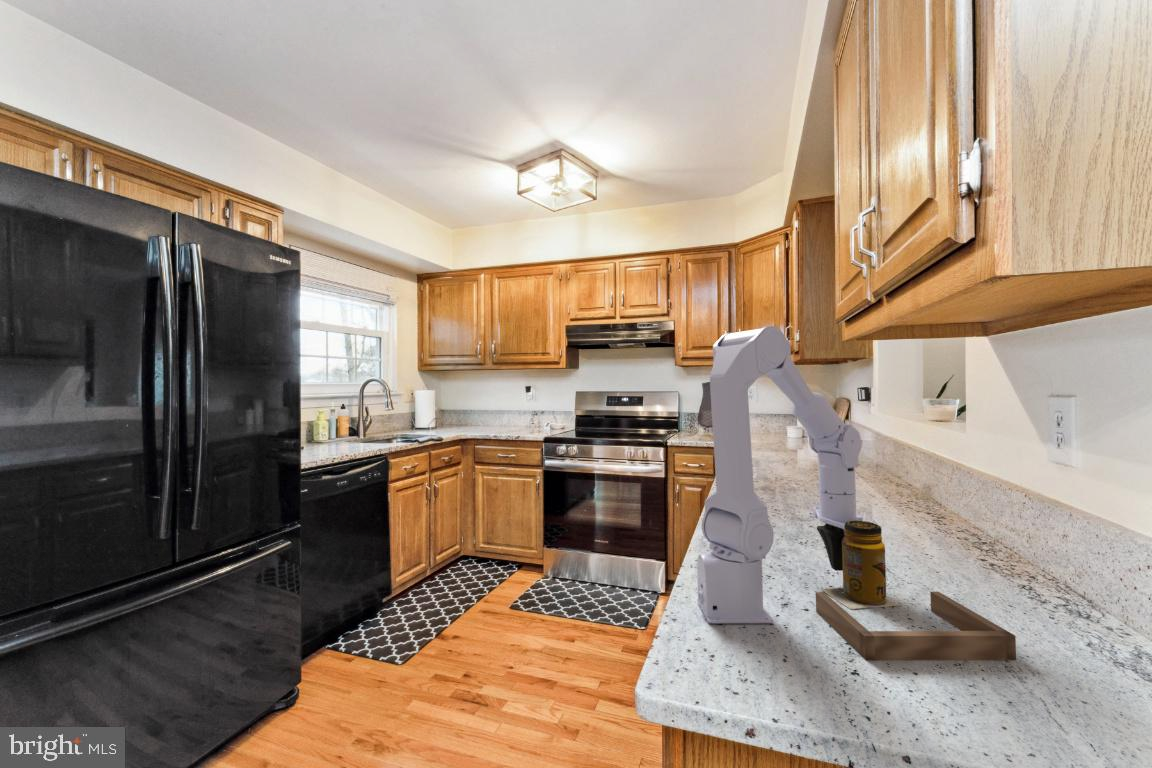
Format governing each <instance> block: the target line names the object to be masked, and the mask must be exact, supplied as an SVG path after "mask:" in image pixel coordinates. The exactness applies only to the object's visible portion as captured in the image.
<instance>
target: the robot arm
mask: <svg viewBox="0 0 1152 768" xmlns="http://www.w3.org/2000/svg"><path fill="white" fill-rule="evenodd" d="M791 351H792V346H791V342H790V341H789V340H787V338H786V335H785V334H784V332H783V331H782V329H780V327H777V326H774V325H768V326H764V327H762V328H761V327H760V328H754V329H749V330H743V331H737V332H727V333H725V334H722V336H721V337H720V338H719V339H717V341H716V342H715V343H714V344H713V345H712V356H713V357H712V358H713V364H712V368H711V372H710V376H709V390H710V404H711V420H712V421H711V422H712V436H713V437H712V438H713V454H714V469H715V472H714V473H715V486H716V487H715V488H716V490H715V492H713V493H712V494H711V495H709V496H708V497H707V498H706V499H705V500H704V513H703V517H702V520H701V532H702V535H703V537H704V539H706V541H707V542H709V550H711V552H706V553H701V554H699V555H698V556H697V565H696V568H697V599H696V601H697V603H698V605H699V606H700V607H699V608H700V609H701V611H702V613H703V615H704V617H705V619H706V621H707V623H709V624H773V623H774V618H773V617H772V616H771V615H770V614H769V612H768V611H767V610H766V608H764V591H763V590H764V588H763V586H764V585H763V560H764V559H766V557H767V555H768V554H769V552H770V551H771V549H772V547H773V544H774V538H775V537H774V529H773V526H772V523H771V521H770V519H769V515H768V514H769V513H768V507H767V505H766V504H765V503H764V502H763V500H762V499H761V498H760V497H759V496H758V494H757V493H756V492H755V487H754V471H753V453H752V441H751V440H752V439H751V423H750V422H751V421H750V419H751V418H750V406H749V405H750V404H749V389H750V387H751V386H752V385H753V384H754V383H755V382H756V381H757V380H758V379H759V378H762V377H763V376H767V377H768V378H769V379H770V380H771V381H772V382H773V383H774V384H775V386H777V387H778V389H779V390H780V391H781V392H782V393H783V394H784V395H785V397H787V398H788V400H790V402H792V404H793V405H792V411H791V412H792V414H793V416H794V417H795V418H796V420H797V421H798V422H799V424H800V425H801V426H802V427H803V428H804V429H805V431H806V435H807V436H808V443H809V448H810V450H812V451H813V452H814V453H815V454H817V469H818V470H817V472H818V478H817V479H818V506H813V507H812V516H813V518H815V519H818V521H819V522H822V523H824V524H823V525H818V526H816V530H817V532H818V533H819V535H820V537H821V540H822V541H823V544H824V547H825V550H826V553H827V556H828V560H829V564H830V568H831V569H833V570H834V571H837V572H838V571H842V572H843V561H842V539H843V538H844V536H845V535H844V530H845V527H844V525H845V523H846V522H847V521H864V518H863V517H862V516H860V515H858V514H857V498H856V497H857V496H856V495H857V494H856V467H858V464H859V455H860V453H861V450H862V448H863V439H862V438H861V437H862V436H861V434H860V432H859V430H858V429H857V428H855V427H854V426H853V425H851V424H848V423H845V422H844V420H843V419H842V418H841V416H839V414H838V413H837V411H836V410H835V409H834V407H833V406H832V405H831V403H830V402H829V401H828V398H827V396H826V395H825V394H822V393H820V392H812V390H811V388H810V387H809V385H808V384H807V382H806V380H805V379H804V377H803V375H802V373H801V372H800V371H799V369H798V368H797V366H796V365H795V363H794V361H793V359H792V358H791V353H792V352H791Z"/></svg>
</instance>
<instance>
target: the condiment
mask: <svg viewBox="0 0 1152 768" xmlns="http://www.w3.org/2000/svg"><path fill="white" fill-rule="evenodd" d="M844 527H845V530H844V535H845V536H844V538H843V539H842V561H843V571H842V586H843V587H833V588H821V591H822V592H824V593H825V594H826V595H827V596H829V597H830V598H831V599H832V598H833V600H836V601H837V602H838V603H840V604H842V605H843V606H845V607H847V608H849V609H850V610H855V609H866V608H867V609H868V608H886V607H895V606H896V607H897V606H900V605H901V604H900V603H898V602H896V601H895V600H892V599H890V598H888V597H887V582H886V581H887V576H886V575H887V574H886V546H885V543H884V542H883V536H882V532H883V531H882V527H881V526H880V525H879V524H877V523H874V522H869V521H866V520H863V521H847V522H846V523H845V525H844Z"/></svg>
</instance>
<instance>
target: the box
mask: <svg viewBox="0 0 1152 768" xmlns="http://www.w3.org/2000/svg"><path fill="white" fill-rule="evenodd" d="M929 592H930V593H929V594H930V611H931V612H930V613H933V614H934V615H936V616H938V617H939V618H940V619H941V620H944V621H945V622H947V623H949V624H950V625H951V626H953V627H954V628H956V629H958V630H868V629H867V628H866V627H865V626H864V625H863V624H861V623H860V622H859V621H857V620H856V619H855V618H854V617H853V616H852V615H850V613H849V612H847V611H846V610H845V609H844V608H842V607H841V606H840V605H839V604H838V603H837V602H835V600H834V599H832V597H831V596H830V595H828V594H827V593H825V592H824V591H816V592H815V613H816V614H817V615H819V616H820V617H821V618H822V619H823V620H824V621H825V622H826V623H827V624H828V625H829V626H830V627H831V628H832V629H833V630H834V631H835V632H836V633H837V634H838V635H839V636H840V637H841V638H842V639H844V641H845V642H846V643H847V644H848V645H849V646H850V647H852V649H854V651H856V653H857V654H858V655H860V656H861V657H862V659H863V660H865V661H1017V643H1016V640H1017V639H1016V635H1015V634H1013V633H1012V632H1010V631H1008V630H1006V629H1005V628H1003V627H1001V626H999V625H998V624H996V623H994V622H992V621H991V620H988V618H986V617H984V616H982V615H980V614H978V613H977V612H975V611H974V610H971V609H969V608H968V607H967V606H965V605H963V604H961V603H959V602H958V601H956V600H954V599H952V598H950V597H949V596H947V595H945V594H943V593H942V592H941V591H939V590H938V591H937V590H936V591H929Z"/></svg>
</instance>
